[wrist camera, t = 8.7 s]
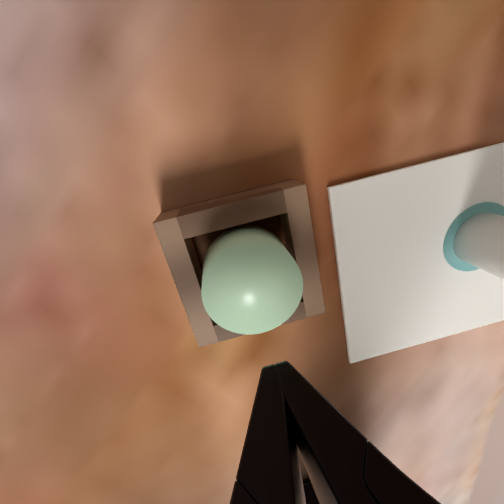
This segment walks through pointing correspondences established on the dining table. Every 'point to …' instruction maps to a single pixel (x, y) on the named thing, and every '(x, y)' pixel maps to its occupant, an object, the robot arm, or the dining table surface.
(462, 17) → the dining table surface
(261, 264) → the button
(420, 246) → the paper
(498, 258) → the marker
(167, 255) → the button housing
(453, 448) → the dining table surface
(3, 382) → the dining table surface
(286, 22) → the dining table surface
